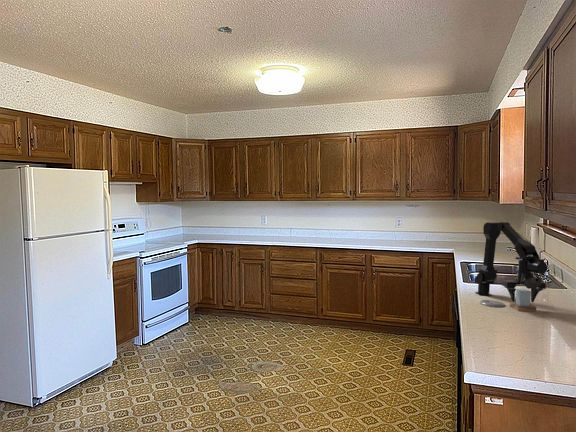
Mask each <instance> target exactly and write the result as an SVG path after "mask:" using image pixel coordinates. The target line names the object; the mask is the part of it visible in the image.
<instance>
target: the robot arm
mask: <svg viewBox="0 0 576 432" xmlns="http://www.w3.org/2000/svg"><path fill="white" fill-rule="evenodd" d="M501 232H502V233H503V234H504V235H505V237H506V238H508V240H509V241H510V242H511V243H512V244H513V246H514V250H515V253H517V256H516V257H515V260H517V261H518V267H517V268H518V269H517V270H516V273H517V278H516V279H515V281H513V280H511V279H503V280H502V281H501V282H502V283H501V286H502V287H504V288H505V289H507V291H508V293H509V296H510V299H511V302H514V303H515V301H516V296H515V295H516V291H517V288H516V287H525V288H527V290H530V291H531V297H530V303H534V302H535V299H536V297H537V296H538V294H539V293H540V292H541V291H544V290H546V289H547V283H546V282H544V281H543V279H542V278H541V277H534V274H535V273H536V274H537V275H538V274H539V275H544V274H545V273H546V272H547V271H548V266H547V264H546V262H545V260H544V259H542V258H541V257H540V255H539V254H538V252H537V249H536V247H535V245H534V244H533V243H531V242H530V241H528V240H526V239H524V238H523V237H522V236H521V235H520V234H519V233H518V232H517V231H516V230H515V229H514V228H513V227H512V226H511V223H509V222H508V221H500V222H497V221H496V222H485V223H484V224H483V235H484V238H485V244H484V245H485V246H484V253H483V255H484V256H483V264H482V266H481V267H480V268H479V271H478V274H477V275H476V276H475V277H474V279H473V280H474V283H475V284H477V286H478V288H477V291H475V292H474V293H475V294H477V295H478V296H480V297H481V296H483V297H487V296H488V297H492V296H493V295H492V294H491V293H490V285H491V284H494V283H495V282H496V281H495V280H496V278H498V277H497V275H498V270H497V269H495V267H494V264H495V263H494V262H495V254H496V246H497V239H498V238H499V237H500V235H501ZM540 258H541V259H540Z"/></svg>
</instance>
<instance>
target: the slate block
mask: <svg viewBox="0 0 576 432" xmlns="http://www.w3.org/2000/svg"><path fill="white" fill-rule="evenodd" d="M515 295H516V296H515V304H517V305H519V306H530V304H531V290H529V289H525V288H524V289H523V288H520V289H519V288H516V291H515Z"/></svg>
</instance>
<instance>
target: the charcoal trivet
mask: <svg viewBox="0 0 576 432" xmlns="http://www.w3.org/2000/svg"><path fill="white" fill-rule="evenodd" d="M479 303H480V304H481V305H483V306H485V307H491V308H504V307H505V303H504V302H502V301H498V300H493V299H492V300H491V299H483V300H480V302H479Z"/></svg>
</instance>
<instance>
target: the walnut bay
mask: <svg viewBox="0 0 576 432" xmlns="http://www.w3.org/2000/svg"><path fill="white" fill-rule="evenodd" d="M509 307H510V308H512V309H514V310H516V311H518V312H537V307H536V306H535V305H534V304H531V303H530V306H519V305H517V304H516V302H515V301H514V302H513V301H510V302H509Z"/></svg>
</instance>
